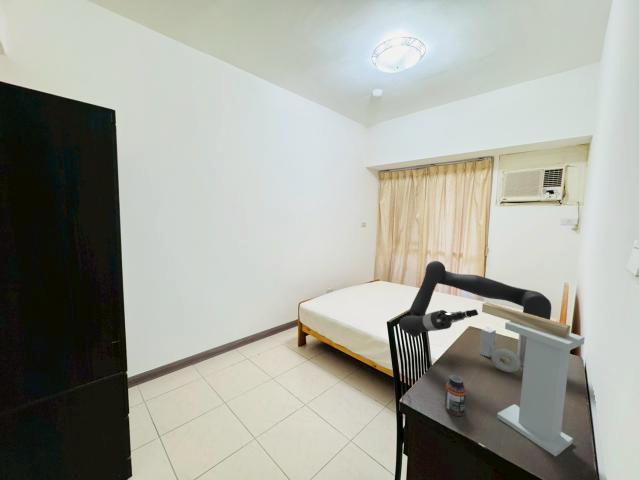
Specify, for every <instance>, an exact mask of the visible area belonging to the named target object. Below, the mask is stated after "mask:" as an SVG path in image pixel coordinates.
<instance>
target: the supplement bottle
mask: <svg viewBox="0 0 639 480" xmlns="http://www.w3.org/2000/svg"><path fill="white" fill-rule="evenodd" d="M466 396H467V388H466V386H465V384H464V379H463V378H462V377H461V376H459V375H455V374H452V375H449V379H448V381H447V382H446V384H445V399H444V408H445V410H446V411H447V412H448V413H449V414H450V415H452V416H455V417H461V416H463V415H465V413H466V411H465V409H466V401H467V397H466Z"/></svg>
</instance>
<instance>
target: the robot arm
mask: <svg viewBox="0 0 639 480" xmlns="http://www.w3.org/2000/svg"><path fill="white" fill-rule="evenodd" d="M424 273H425V274H424V277H423V280H422V283H421V285H420V288H419V289H418V292H417V293H416V296H415V297H414V299H413V301H412V304H411V306H410V308H409V312H410V314H411V315H406V316H405V315H404V316H403V317H402V318H401V319H400V321H399V323H398V326H399V329H400V330H402V331H403V332H405V333H406V334H408V335H409V336H411V337H413V338H417V337H419V336H420V335H421V333H426V332H427V333H429V332H435V331H436V332H437V331H441V330H448V329H450V328H451V327H452V325H453V323H457V322H460V321H464V320H465V319H467V318H472V317H476V316H479V313H478V310H477V309H471V310H465V311H461V310H460V311H452V312H447V311H446V310H444V309H440V310H437V311H433V312H429V313H427V310H428V308H429V305H430V302H431V301H432V300H431V299H432V297H433V294H434V292H435V289H436V286H437V285H438V284H439V285H444V286H448V287H452V288H455V289H458V290H461V291H464V292H467V293H470V294H473V295H476V296H479V297H481V298H482V297H483V298H486V299H491V300H501V301H506V302H508V303H509V302H510V303H512V304H515V305H518V306H520V307H523V308H522V312H523V313H527V314H531V315H534V316H538V317H541V318H545V319H548V320H551V316H552V302H551V301H550V299H548V297H546V296H545V295H544V294H542V293H541V292H538V291H535V290H531V289H525V288H520V287H516V286H511V285H508V284H505V283H503V282H501V281H496V280H494V279H491V278H488V277H485V276H480V275H477V274H463V273H462V274H460V273H453V272H451V271H448V270H446V267H445V265H444V263H443V262H441V261H438V260H433V261H430V262H429V263H428V264H427V265H426V268H425V272H424ZM426 313H427V314H426ZM526 339H527V337H526V336H524V335H521V334H518V341H517V342H518V344H517V352H516V353H517V354H516V355H517V356H518V358H519V360H520V367H523V368H524V359H525V349H526Z"/></svg>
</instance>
